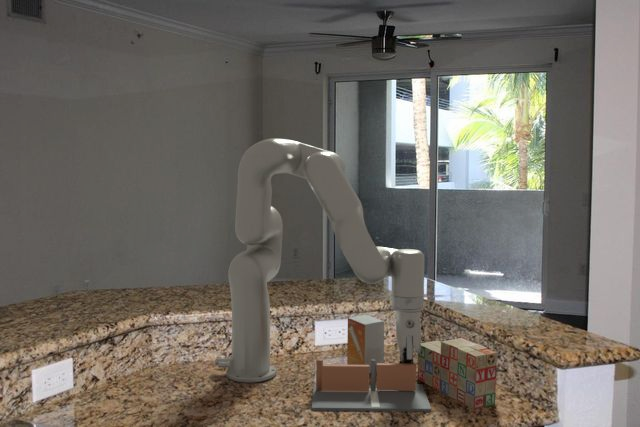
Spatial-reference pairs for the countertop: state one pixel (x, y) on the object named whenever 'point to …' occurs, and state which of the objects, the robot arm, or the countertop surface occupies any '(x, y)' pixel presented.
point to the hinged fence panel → (393, 376)
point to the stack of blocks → (460, 371)
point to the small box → (365, 341)
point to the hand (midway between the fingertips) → (406, 377)
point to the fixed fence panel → (341, 377)
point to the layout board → (371, 400)
